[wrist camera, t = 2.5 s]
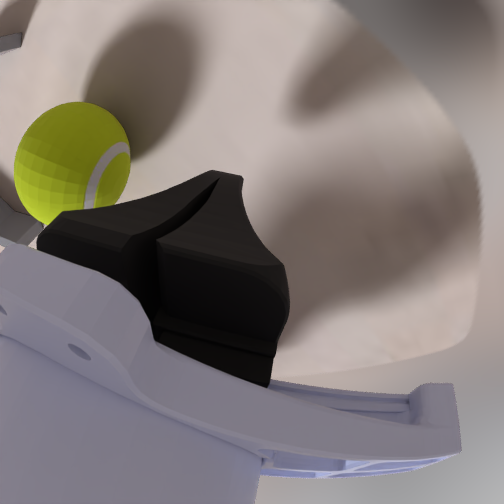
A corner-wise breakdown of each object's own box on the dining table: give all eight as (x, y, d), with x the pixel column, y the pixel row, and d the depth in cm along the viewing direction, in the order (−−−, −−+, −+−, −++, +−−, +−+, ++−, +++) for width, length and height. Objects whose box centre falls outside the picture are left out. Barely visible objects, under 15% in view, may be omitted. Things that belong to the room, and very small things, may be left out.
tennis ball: (140, 205, 17) (82, 276, 12) (65, 171, 16) (0, 224, 11) (166, 107, 13) (84, 150, 8) (75, 81, 12) (-12, 114, 7)
